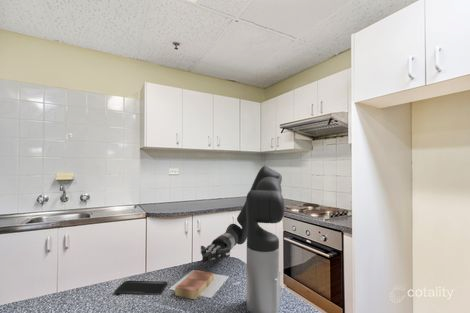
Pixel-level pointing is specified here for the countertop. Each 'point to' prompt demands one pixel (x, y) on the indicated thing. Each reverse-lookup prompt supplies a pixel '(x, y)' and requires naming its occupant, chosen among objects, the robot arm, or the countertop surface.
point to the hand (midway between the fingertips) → (204, 259)
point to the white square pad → (211, 288)
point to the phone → (141, 287)
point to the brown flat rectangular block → (194, 284)
